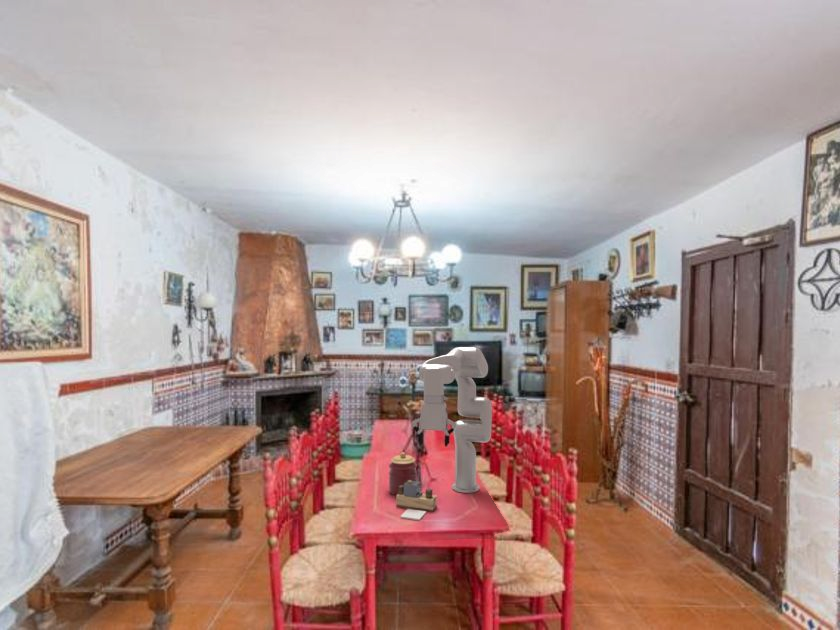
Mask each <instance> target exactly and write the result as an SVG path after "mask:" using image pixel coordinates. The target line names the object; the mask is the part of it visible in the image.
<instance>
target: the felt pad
mask: <svg viewBox="0 0 840 630" xmlns="http://www.w3.org/2000/svg"><path fill="white" fill-rule="evenodd" d="M426 514H427V511H426V510H419V509H412V508H407V509H406V510H405V511H403V513H402V514H401V515H400V516H399V517H400V519H405V520H407V519H408V520H412V521H419V522H420V521H421V520H422V519H423V517H424V516H425V515H426Z"/></svg>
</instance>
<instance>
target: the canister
mask: <svg viewBox="0 0 840 630" xmlns="http://www.w3.org/2000/svg"><path fill="white" fill-rule="evenodd" d="M388 467H389V472H388V476H389V477H388V481H389V482H388V483H389V484H388V489H389V493H390V494H392V495H395V496H396V495H397V494H398V487H399V486H400V485H402V486H404V484H405V483H406V482H407V481H408V480H412V481H418V471H417V467H418V464H417V463H416V458H415V457H413V456H411V455H409V454H406V452H403V451H402V452H400V454H397V455H394V457H392V458H391V459H390V463H389V464H388Z"/></svg>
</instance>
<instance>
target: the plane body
mask: <svg viewBox="0 0 840 630" xmlns="http://www.w3.org/2000/svg"><path fill="white" fill-rule="evenodd" d="M395 496H396V497H395V498H396V507H401V508H404V509H405V508H407V509H413V510H420V511H426V512H434V510H435V509H436V508H437V507H438V496H437V495H434V494H433V489H432V488H426V489H425V493H423V491H421V490H420V493H419V494H418V495H417V498H414V497H406V496H404V486H402V485H400V486H399V487H398V494H397V495H395Z"/></svg>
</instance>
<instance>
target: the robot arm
mask: <svg viewBox="0 0 840 630" xmlns="http://www.w3.org/2000/svg"><path fill="white" fill-rule="evenodd" d="M488 372H489V365H488V362H487V360H486V357H485V355H484V353H483V351H481V349H480V348H478V347H474V346H468V347H467V346H458V347H453V348H452V349H451V350H450V351H449V352H448V353H447V354H444V355H440V356H437V357H433V358H431V359H427V360H426V361H425V362H423V363H422V365H421V366H420V368H419V371H418V378H419V380H420V381H421V382H422V383H423V402H422V403H421V408H420V415H419V416H420V417H418V418H417V419H416V418H415V419H414V420H412V421H411V422H410V424H411V425H412V428H413V430H415V432H416V433H417V436H418V438H417V439H418V440H417V441H418V443H419V446H422V445H424V433H423V431H424V430H425V431H439V432H441V431H442V432H443V433H444V446H445V447H448V445H449V444H450V435H451V434H453V437H454V445H455V447H454V448H455V449H454V452H455V456H454V457H455V458H454V461H455V462H454V463H455V466H454V469H455V471H454V472H455V476H454V477H455V480H454V483H452V485H451V488H452V490H453V491H455V492H457V493H460V494H461V493H462V494H472V493H476V492H478V491H479V490H480V485H479V484H478V483H477V451H476V448H475V445H474V444H473V443H472V442H474V443H485V444H486V443H488V442H490V439H491V438H492V422H493V421H492V420H493V414H492V412H493V407H492V406H493V405H492V402H491V399H489V398H488V397H485V396H477V385H476V383H475V381H474V379H473V378H475V379H476V378H477V379H478V378H479V379H480V378H483V379H484V378H485V377H486V376H488ZM454 381H456V382H457V383H456V384H457V413H458V415H459V416H461V417H467V418H477V419H480V420H475V419H459V420H456V421H453V420H451V419H450V418H448V408H447V403H446V402H445V401H448V396H445V393H444V390H445V389H444V385H449V384H451V383H453V382H454ZM417 423H419V426H418V425H417ZM449 425H450V426H451V428H450V429H449V428H448V426H449Z"/></svg>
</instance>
